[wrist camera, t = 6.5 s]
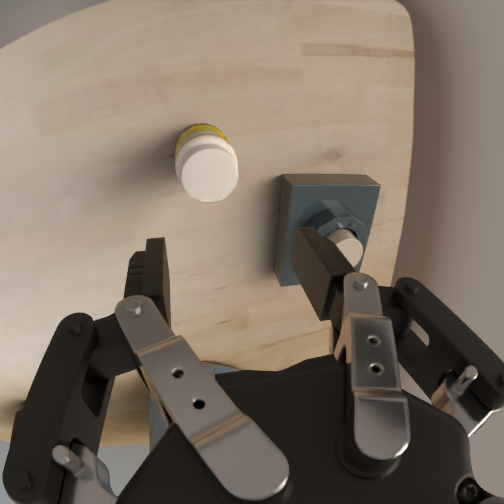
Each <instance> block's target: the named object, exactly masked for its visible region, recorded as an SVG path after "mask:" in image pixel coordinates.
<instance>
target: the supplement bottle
mask: <svg viewBox="0 0 504 504" xmlns="http://www.w3.org/2000/svg"><path fill="white" fill-rule="evenodd" d="M175 170H176V175H177V178H178V180H179V182H180V183H181V184H182V186H183V189H184V190H185V192H186V193H187V194H188V195H189V196H190V197H191V198H193V199H195V200H197V201H199V202H204V203H212V202H217V201H220V200H222V199H224V198H226V197H227V196H228V195H229V194H230V193H231V192H232V191H233V190H234V188H235V186H236V184H237V181H238V163H237V157H236V154H235V151H234V149H233V148H232V146H231V145H230V143H229V142H228V140H227V139H226V138H225V136H224V135H223V133H222V132H221V131H220V130H219V129H218V128H216V127H215V126H213V125H210V124H205V123H199V124H194V125H192V126H190V127H188V128H186V129H185V130H184V131H183V132H182V133H181V134H180V136H179V137H178V139H177V142H176V147H175Z"/></svg>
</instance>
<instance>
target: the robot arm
mask: <svg viewBox="0 0 504 504" xmlns="http://www.w3.org/2000/svg"><path fill="white" fill-rule="evenodd" d="M292 267H293V270H294V272H295V274H296V276H297V278H298V280H299V282H300V284H301V285H302V287H303V289H304V291H305V293H306V295H307V297H308V299H309V301H310V303H311V304H312V306H313V308H314V310H315V312H316V314H317V316H318V318H319V320H320V321H324V320H331V322H332V323H331V326H330V334H329V355H326V356H321V357H316V358H311V359H307V360H304V361H302V362H300V363H298V364H295V365H293V366H291V367H289V368H286V369H284V370H282V371H256V370H241V371H234V372H227V373H219V374H215V379H214V378H213V376H212V375H211V374H210V372H209V371H208V370H207V369H206V367H205V366H204V365H203V363H202V362H201V361H200V359H199V358H198V357H197V355H196V354H195V353H194V351H193V350H192V349H191V347H190V346H189V344H188V343H187V342H186V340H185V339H184V338H183V337H182V336H181V335H179V336H175V334H174V333H173V331H172V330H171V312H170V279H169V268H168V261H167V253H166V245H165V238H164V237H162V238H151V239H147V243H146V251H139V252H135V253H134V255H133V256H132V257H131V258H130V260H129V266H128V272H127V279H126V285H125V292H124V299H123V300H121V301H120V302H119V303H118V304H117V306H116V308H115V313H113V314H111V315H110V316H107V317H104V318H101V319H98V320H95V321H93V319H92V317H91V316H89V315H88V314H85V313H74V314H71V315H68V316H67V317H65V318H64V319H63V320H62V321H61V322H60V323H59V325H58V327H57V329H56V331H55V333H54V335H53V337H52V339H51V342H50V344H49V346H48V348H47V350H46V352H45V355H44V357H43V359H42V362H41V364H40V366H39V368H38V371H37V373H36V376H35V378H34V380H33V383H32V385H31V388H30V391H29V393H28V396H27V398H26V401H25V404H24V406H23V409H22V412H21V415H20V418H19V420H18V423H17V426H16V429H15V432H14V435H13V439H12V442H11V445H10V448H9V452H8V455H7V459H6V463H5V466H4V470H3V483H4V487H5V489H6V491H7V493H8V494H9V495H10V497H12V498H13V499H14V500H15V501H17V502H19V503H21V504H504V498H501V497H497V496H494V495H492V494H490V493H488V492H486V491H485V490H483V489H482V488H481V487H480V486H479V485H478V484H477V482H476V480H475V478H474V475H473V471H472V466H471V459H470V443H469V438H468V437H469V436H470V435H472V434H474V433H475V432H476V431H477V430H478V429H479V428H481V427H482V426H483V425H484V424H485V423H486V422H487V421H488V420H489V419H490V418H492V417H493V416H494V415H495V414H496V413H497V412H498V410H500V409H501V408H502V407H503V406H504V362H503V361H502V360H501V359H500V358H499V357H498V356H497V355H496V354H495V353H494V352H493V351H492V350H491V349H490V348H489V347H488V346H487V345H486V344H485V343H484V342H483V341H482V340H481V339H480V338H479V337H478V336H477V335H476V334H475V333H474V332H473V331H472V330H471V329H470V328H469V327H468V326H467V325H466V324H465V323H464V322H463V321H462V320H461V319H460V318H459V317H458V316H457V315H456V314H454V313H453V312H452V311H451V310H450V309H449V308H448V307H447V306H446V305H445V304H444V303H443V302H442V301H440V300H439V299H438V298H437V297H436V296H435V295H434V294H433V293H432V292H430V290H428V289H427V288H426V287H425V286H424V285H423V284H421V283H420V282H419V281H417V280H415V279H412V278H408V277H403V278H400V279H398V280H397V282H396V284H395V287H385V286H378V284H377V282H376V281H375V280H374V279H373V278H372V277H371V276H369V275H367V274H364V273H360V272H357V271H356V270H355V269H354V268H353V266H352V265H351V264H350V262H349V261H348V260H347V258H346V257H345V256H344V254H343V253H342V252H341V251H339V248H338V247H337V246H336V244H335V243H334V242H333V241H331V240H330V239H328V238H326V237H322V236H321V235H320V234H319V233H318V231H317V230H316V229H315V227H299V228H297V229H296V231H295V237H294V245H293V252H292ZM414 320H415V321H416V322H417V323H418V324H419V325H420V326H421V328H423V330H425V332H426V333H427V334H428V336H429V345H428V346H426V344H424V342H423V341H422V340H421V339H420V338H419V337H418V336H417V335H416V334H415V333H414V332H413V331H412V330H411V329H410V328H411V326H412V324H413V322H414ZM398 362H399V363H400V364H401V365H402V367H403V368H404V369H405V370H406V371H407V372H408V374H409V375H410V376H411V377H412V378H413V380H414V381H415V382H416V383H417V384H418V385H419V387H420V388H421V389H422V390H423V391H424V393H425V394H426V395H427V396H428V397H429V399H430V400H431V403H432V405H430V404H429V403H427V402H425V401H423V400H421V399H419V398H418V397H416V396H414V395H412V394H410V393H408V392H406V391H405V390H403V389H401V383H400V374H399V366H398ZM135 369H136V371H137V373H138V375H139V377H140V379H141V381H142V383H143V384H144V386H145V388H146V390H147V392H148V393H149V395H150V397H151V399H152V401H153V402H154V404H155V406H156V408H157V410H158V412H159V414H160V416H161V418H162V419H163V421H164V423H165V424H166V426H167V430H166V431H165V432H164V434H163V435H162V437H161V438H160V439H159V441H158V442H157V444H156V445H155V446H154V448H153V449H152V451H151V452H150V453H149V455H148V456H147V457H146V459H145V460H144V462H143V463H142V465H141V466H140V467H139V468H138V470H137V471H136V473H135V474H134V476H133V477H132V478H131V479H130V481H129V482H128V484H127V485H126V486H125V488H124V489H123V490H122V492H121V494H120V495H119V496H116V495H115V494H114V493H113V491H112V489H111V487H110V475H109V471H108V469H107V467H106V465H105V464H104V463H103V462H102V461H101V460H100V459H99V458H98V457H97V453H98V448H99V443H100V439H101V434H102V429H103V425H104V420H105V416H106V412H107V408H108V404H109V400H110V396H111V392H112V388H113V384H114V380H115V376H117V375H120V374H123V373H126V372H129V371H132V370H135Z"/></svg>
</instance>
